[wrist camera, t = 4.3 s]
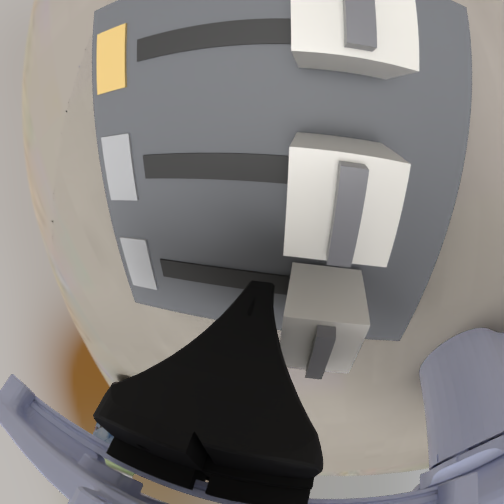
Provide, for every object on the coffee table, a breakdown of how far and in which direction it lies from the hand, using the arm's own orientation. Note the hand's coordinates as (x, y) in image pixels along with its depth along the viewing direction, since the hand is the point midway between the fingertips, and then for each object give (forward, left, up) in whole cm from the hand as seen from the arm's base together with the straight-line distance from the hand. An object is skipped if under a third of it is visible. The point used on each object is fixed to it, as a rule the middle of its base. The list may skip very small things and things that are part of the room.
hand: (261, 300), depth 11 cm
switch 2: (-2, -5, -1) cm, 6 cm away
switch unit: (0, -5, -3) cm, 6 cm away
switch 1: (-2, -10, -1) cm, 10 cm away
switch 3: (-2, 0, -1) cm, 3 cm away
